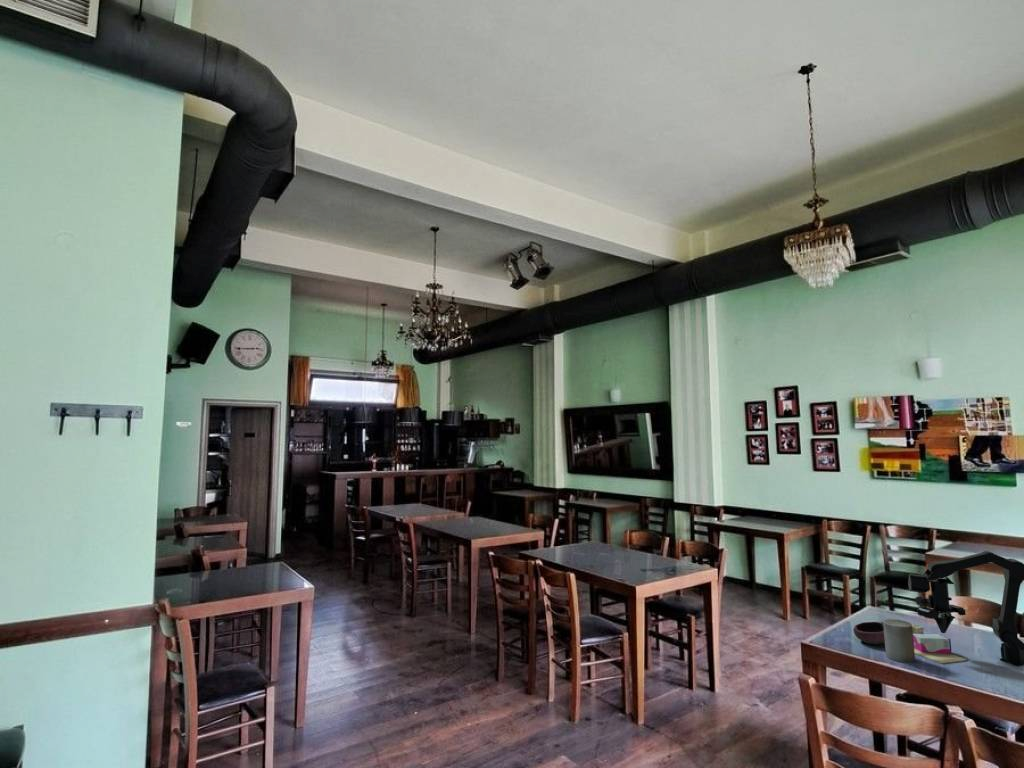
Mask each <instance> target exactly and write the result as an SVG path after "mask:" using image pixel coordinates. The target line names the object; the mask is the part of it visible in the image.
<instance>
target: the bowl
mask: <svg viewBox="0 0 1024 768" xmlns="http://www.w3.org/2000/svg"><path fill="white" fill-rule="evenodd" d="M853 634H854V636H855V637H856V638H857V639H859V640H860V641H861V642H864V643H866V644H869V645H876V646H877V645H881V644H885V638H884V626H883V620H882V621H881V622H879V621H867V622H866V621H864V622H860V623H858V624H855V625H854V628H853Z"/></svg>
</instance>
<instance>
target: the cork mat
mask: <svg viewBox="0 0 1024 768" xmlns="http://www.w3.org/2000/svg"><path fill="white" fill-rule="evenodd" d="M914 653H915V655H916V656H917V655H918V656H920V657H923V658H925V659H928V660H930V661H933V662H935V663H937V664H941V665H945V664H946V665H947V664H952V663H961V662H968V659H966V658H963V657H961V656H959V655H955V654H953V653H924V652H920V651H919V650H917V649H915V648H914Z"/></svg>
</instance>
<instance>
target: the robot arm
mask: <svg viewBox="0 0 1024 768" xmlns="http://www.w3.org/2000/svg"><path fill="white" fill-rule="evenodd" d="M990 563H991V564H993V565H996V566H998V567H1001V568H1002V574H1003V577H1004V578H1003V579H1004V585H1003V586H1004V587H1003V592H1002V593H1003V594H1002V600H1001V601H1002V602H1001V605H1000V606H1001V607H1000V614H999V616H998V618H995V617H993V618H992V625H991V627H990V628H991V629H992V632H993V633H994V635H995V636H996V637H998V639H999V640H1000V642H1001V644H1000V645H1001V646H1000V647H999V648H1000V656H1001V657H1000V658H999V661H1002V662H1005V663H1009V664H1011V665H1014V666H1017V667H1020V666H1024V642H1023V641H1022V640H1021V639H1019V636H1018V635H1019V634H1018V628H1017V625H1016V617H1017V615H1016V614H1017V609H1018V602H1019V596H1020V589H1021V585H1022V583H1023V582H1024V563H1023V562H1022V561H1019V560H1018V559H1015V558H1005V557H1003V556H1000V555H998V554H997V553H996V554H995V553H993V552H992V551H989V550H984V551H982V552H979V553H975V554H970V555H966V556H964V557H959V558H956V559H949V560H934V561H933V560H932V561H931V562H929V563H928V566H927V569H926V570H925V571H924V572H923V574H922V575H919V574H913V573H910V574H908V581H907V585H908V590H909V592H914V593H915V592H916V593H917V592H918V593H928V592H929V591H930V594H928V596H927V598H923V597H922V596H915V604H916V605H917V606H919V607H918V608H917V615H918V616H922V617H925V618H929V619H933V620H934V621H935V622H936V625H937V627H938V628H939V631H940V632H941V634H946V633H947V631H948V629H949V627H950V625H951V623H952V622H953V621H954V619H955V618H956V616H954V615H952V613H957V614H958V615H959V616H966V610H965V608H964V607H962V606H958V605H955V604H950V601H953V598H952V597H950V596H949V585H954V584H955V583H954V581H952V580H951V579H950V578H949V577H950V576H951V575H953V574H955V573H956V572H959V571H963V570H965V569H969V568H975V567H977V566H982V565H986V564H990Z"/></svg>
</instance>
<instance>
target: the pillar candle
mask: <svg viewBox="0 0 1024 768" xmlns="http://www.w3.org/2000/svg"><path fill="white" fill-rule="evenodd" d="M882 621H883V626H884V638H885V642H884V647H885V648H884V649H885V656H886V658H889V659H891V660H893V661H895V662H899V663H914V662H916V654H915V653H914V641H913V631H912V624H913V623H911V622H909V621H905V620H902V619H895V618H885V619H883V620H882Z"/></svg>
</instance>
